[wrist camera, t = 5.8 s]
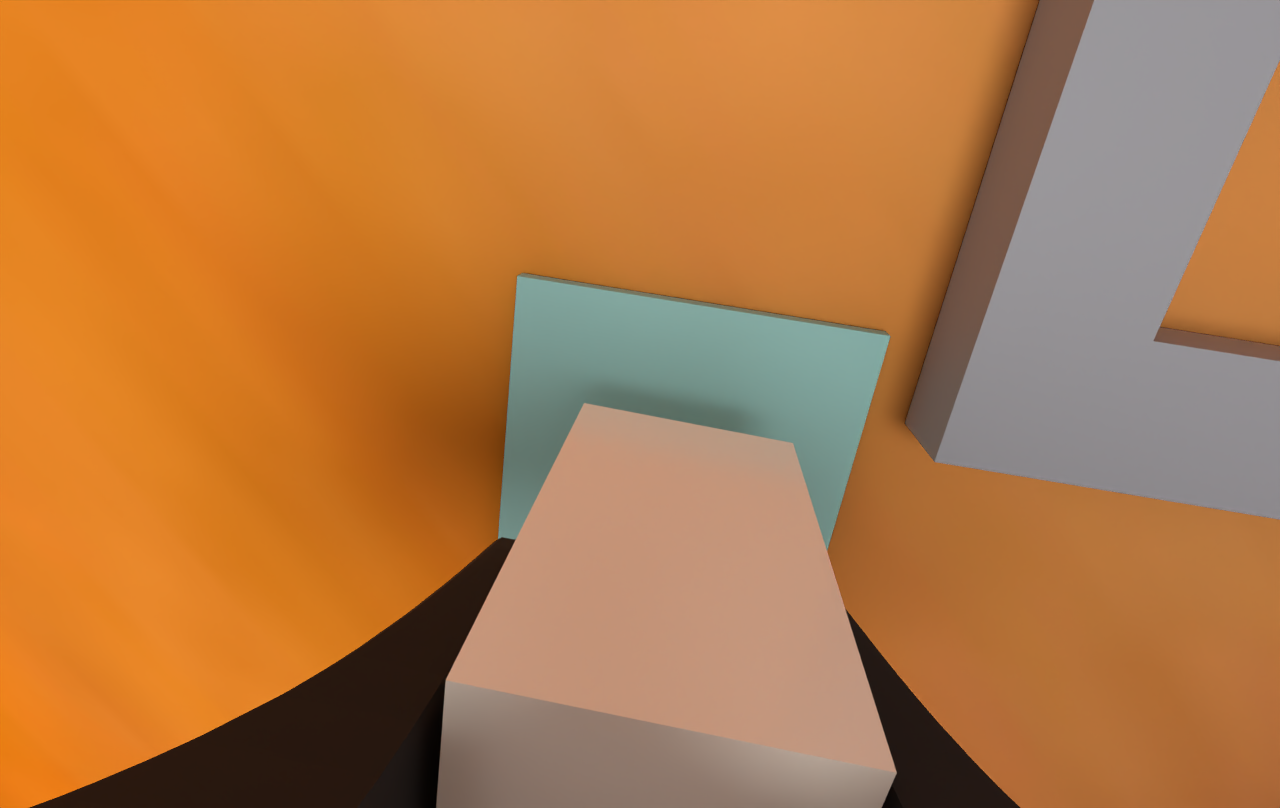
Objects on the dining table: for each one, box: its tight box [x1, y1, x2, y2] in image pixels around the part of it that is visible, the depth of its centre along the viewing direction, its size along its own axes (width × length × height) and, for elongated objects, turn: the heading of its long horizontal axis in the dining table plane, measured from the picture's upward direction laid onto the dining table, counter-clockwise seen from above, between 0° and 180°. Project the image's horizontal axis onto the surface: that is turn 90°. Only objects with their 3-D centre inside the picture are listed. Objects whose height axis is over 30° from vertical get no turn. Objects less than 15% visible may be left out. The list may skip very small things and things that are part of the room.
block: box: [436, 403, 897, 808], centre depth 10 cm, size 4×4×7 cm
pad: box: [498, 273, 890, 550], centre depth 15 cm, size 8×8×1 cm
